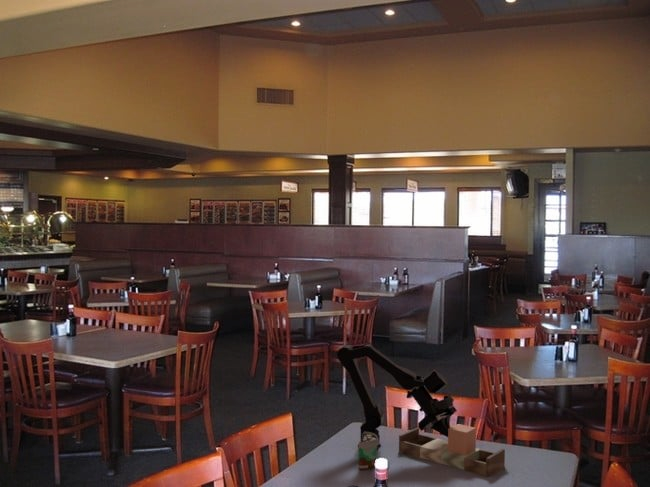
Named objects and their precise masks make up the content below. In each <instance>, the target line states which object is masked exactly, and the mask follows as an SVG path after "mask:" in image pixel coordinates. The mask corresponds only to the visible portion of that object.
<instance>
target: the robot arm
mask: <svg viewBox="0 0 650 487" xmlns="http://www.w3.org/2000/svg"><path fill="white" fill-rule="evenodd" d="M336 357H337V359H338V361H339V363H340V364H341V365H342V367H343V368H344V369H345V370H346V371H347V373H348V375H349V377H350V380H351V383H353V386H354V388H355V391H356V393H357V394H358V397H359V400H360V402H361V404H362V407H363V414H364V420H363V422H362V423H361V425H360V426H359V427H360V441H359V442H361V439H362V437H363V435H364V432H370V433H374V434H376V435H377V436H378V439H379V445H378V446H377V448H379V447H381V446H382V444H381V442H380V440H381V438H380V431H379V430H378V428H380V426H382V423H383V421H384V419H385V411H384V410H383V408H382V404H381V402H379V403H377V402H375V401H374V399H373V397H372V395H371V392H370V390H369V387H368V385H367V384H366V380H365V379H364V376H363V375H362V372H361V370H360V367H359V364H358V363H359V362H358V359H360V358H368V359H370V360H371V361H372V362H373V363H375V364H376V365H377V366H379V367H381V369H383V370H384V371H386V372H387V373H388V374H390V375H391V376H392V377H393V378H394V379H395V381H396V382H397V383H398V384H399V385H400V387H402V388H403V389H404V390H407V391H406V392H407V393H406V398H407V399H411V398H413V399H414V401H415V402H416V403H417V405H418V406H419V409H418V410H419V412H423V413H424V414H425V416H424V417H423V418H422V419H421V420H420V421H419V422H418V424H417V428H419V431H421V432H422V431H425V430H426V429H427V427H428V426H429V425H430V424H431V427H430V429H431V430H434V431H436V432H437V433H439V434H440V435H441V434H442V435H443V436H444V437H447V438H448V428H450V427H451V425H450V418H451V417H452V416H453V415H454V414H456V413H457V411H458V410H457V409H456V407H455V406H454V401H455V400H454V398H453V397H452V396H451V394H446V395H443V399H440V400H439V399H438V398H436V397H435V398H434V397H433V396H432V395H431V394H437V393H438V392H440V391H441V390H442V389H443V388H444V387H446V386H447V385H448V382H447V380H446V378H445V377H444V376H443V375H442V374H441V373H439V372H438V371H437V370H436V369H433V370H432V371H431V373H429V374H428V375H426V376H421V375H419V374H416V373H415V372H414V371H411V370H410V369H408V368H406V367H403V366H400V365H399V364H397V363H395V362H394V361H393V360H391V359H390V358H389V357H387V356H386V355H385V354H384V353H382V352H381V351H379V350H378V349H377V348H375V347H374V346H373V345H372V344H365V345H364V344H362V345H350V344H345V345H343V346H341V347H340V348H339V349H338V350H337V353H336ZM357 446H358V447H359V443H358V444H357Z"/></svg>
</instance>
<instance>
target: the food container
mask: <svg viewBox="0 0 650 487" xmlns="http://www.w3.org/2000/svg"><path fill="white" fill-rule="evenodd" d="M360 441H361V442H360ZM360 441H359V442H358V444H359V446H358V470H359V471H370V470H373V469H375V468H374V463H375V460H376V461H377V452H378V447H377V446H378V445H379V439H378V436H377V435H376V434H374V433H370V432H364V435H363V437H362V439H361V438H360Z"/></svg>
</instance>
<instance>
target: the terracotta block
mask: <svg viewBox="0 0 650 487" xmlns="http://www.w3.org/2000/svg"><path fill="white" fill-rule="evenodd" d="M476 440H477V427H473V426H469V425H465V424H460V423H457V424H454V425H453V426H450V428H448V437H447V441H448V451H450V452H454V453H458V454H461V455H465V456H467V455H468V454H470V453H472V452H474V451H475V450H476V448H477V446H476V445H477V444H476V442H477V441H476Z"/></svg>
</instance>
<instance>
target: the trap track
mask: <svg viewBox="0 0 650 487" xmlns="http://www.w3.org/2000/svg"><path fill="white" fill-rule="evenodd" d="M505 449H506V448H505ZM505 449H504V448H501V449H499V450H497V451H496V452H494V451H489V450H485V449H481V448H478V447H476V450H475V451H474V452H472V453H470V454H468V455H467V456H465V455H461V454H458V453H454V452H450V451H448V440H445V439H442V438H438V437H434V436H430V435H425V434H421V433H420V429H419V427H416V428H413V429H411V430H408V431H406V432H404V433H401V434H400V435H398V453H402V454H406V455H409V456H413V457H416V458H420V459H424V460H428V461H431V462H434V463H437V464H442V465H446V466H449V467H453V468H455V469H459V470H462V471H463V470H464V471H467V472H470V473H474V474H478V475H480V476H481V475H482V476H484V477H489V478H490V477H491V476H492V475H493V474H496V473H497V472H499V471H500V470H502V469H503V468H505V467H506V466H505V456H506V455H505V454H506V453H505V452H506V450H505Z"/></svg>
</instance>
